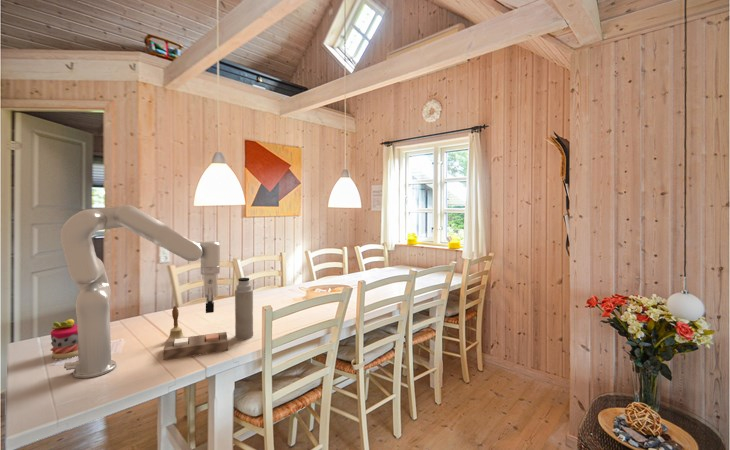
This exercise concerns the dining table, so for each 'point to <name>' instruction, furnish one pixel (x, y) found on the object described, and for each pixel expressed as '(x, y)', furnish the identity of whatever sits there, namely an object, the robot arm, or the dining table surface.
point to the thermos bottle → (243, 310)
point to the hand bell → (175, 326)
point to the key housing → (195, 346)
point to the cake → (64, 340)
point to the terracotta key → (212, 337)
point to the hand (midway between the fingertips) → (209, 312)
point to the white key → (181, 341)
